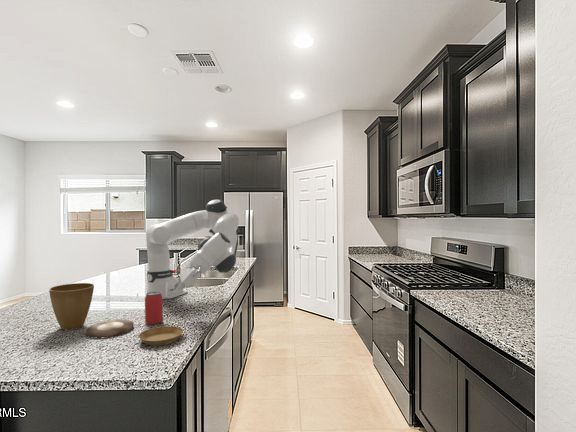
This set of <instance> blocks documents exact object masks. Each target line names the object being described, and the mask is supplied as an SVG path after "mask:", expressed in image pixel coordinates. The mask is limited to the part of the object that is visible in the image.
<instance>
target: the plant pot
mask: <svg viewBox="0 0 576 432" xmlns="http://www.w3.org/2000/svg"><path fill="white" fill-rule="evenodd" d="M94 289H95V284H94V283H91V282H79V283H77V282H75V283H67V284H60V285H55V286H52V287H50V288H48V290H49V296H50V301H51V303H50V304H51V307H52V310H53V313H54V316H55V318H56V321H57V324H58V325H59V328H60V329H61V330H64V331H69V330H71V329H72V330H76V328H77V329H79V328H82V327H83V326H84V325H85V323H86V322H85V321H86V319H87V317H88V314H89V311H90V308H91V303H92V299H93V294H94Z"/></svg>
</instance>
